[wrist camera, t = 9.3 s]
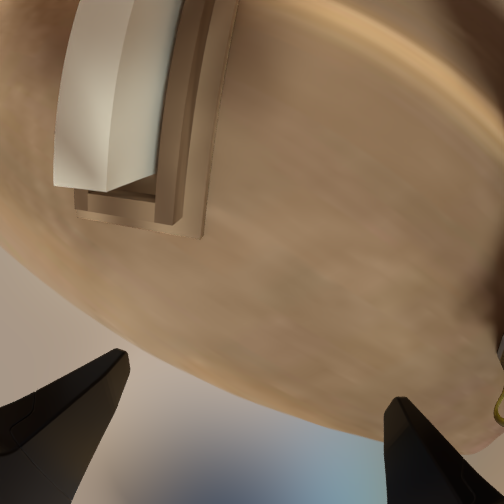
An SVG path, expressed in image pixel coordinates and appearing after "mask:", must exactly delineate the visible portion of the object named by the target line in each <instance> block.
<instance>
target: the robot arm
mask: <svg viewBox="0 0 504 504" xmlns="http://www.w3.org/2000/svg"><path fill="white" fill-rule="evenodd" d="M129 373H130V364H129V358H128V353H127V352H126V351H124V350H121V349H118V348H116V349H113V350H111V351H109V352H108V353H106V354H104V355H102V356H100V357H98V358H97V359H95V360H93V361H91V362H89V363H87V364H85V365H84V366H82V367H80V368H78V369H76V370H74V371H72V372H71V373H69V374H67V375H65V376H63V377H61V378H60V379H57V380H56V381H54V382H52V383H50V384H48V385H46V386H44V387H43V388H40V389H39V390H37V391H36V392H33V393H31V394H29V395H27V396H25V397H23V398H21V399H19V400H17V401H15V402H12V403H10V404H7V405H5V406H2V407H0V504H71V502H72V501H71V500H73V497H74V495H75V493H76V491H77V489H78V486H79V484H80V482H81V480H82V478H83V476H84V474H85V472H86V469H87V467H88V465H89V463H90V461H91V459H92V457H93V455H94V453H95V451H96V449H97V447H98V445H99V443H100V441H101V439H102V437H103V435H104V433H105V431H106V429H107V427H108V425H109V423H110V421H111V419H112V417H113V415H114V413H115V411H116V408H117V406H118V403H119V401H120V398H121V395H122V392H123V390H124V387H125V384H126V382H127V379H128V377H129ZM384 461H385V473H386V486H387V504H504V496H503V495H502V494H500V493H499V492H498V491H497V490H496V489H495V488H494V487H493V486H491V485H490V484H489V483H488V482H487V481H486V480H485V479H484V478H482V477H481V476H480V475H479V474H478V473H477V472H476V471H475V470H474V469H473V468H472V467H471V466H470V465H469V464H468V462H467V461H466V460H465V459H463V457H462V456H461V455H460V454H459V453H458V452H457V450H456V449H455V448H454V447H453V446H452V445H451V444H450V443H449V442H448V441H447V440H446V439H445V438H444V436H443V435H442V434H441V433H440V432H439V431H438V430H437V429H436V428H435V427H434V426H433V425H432V424H431V422H430V421H429V420H428V419H427V418H426V417H425V416H424V415H423V414H422V413H421V412H420V411H419V410H418V409H417V408H416V406H415V405H414V404H413V403H412V402H411V401H410V400H409V399H408V398H407V397H395V398H394V399H393V400H392V402H391V403H390V405H389V406H388V408H387V409H386V411H385V413H384Z"/></svg>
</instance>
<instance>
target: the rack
mask: <svg viewBox="0 0 504 504" xmlns="http://www.w3.org/2000/svg"><path fill="white" fill-rule="evenodd" d="M238 3H239V0H185V3H184V7H183V11H182V15H181V19H180V24H179V28H178V33H177V37H176V42H175V47H174V52H173V57H172V63H171V68H170V74H169V80H168V86H167V93H166V99H165V106H164V114H163V121H162V129H161V138H160V147H159V158H158V169H157V173H156V174H153V175H150V176H147V177H145V178H142V179H139V180H136V181H134V182H131V183H128V184H126V185H123V186H121V187H118V188H115V189H113V190H110V191H108V192H102V191H94V190H86V189H78V188H74V202H75V209H76V210H77V217H78V218H83V219H89V220H94V221H100V222H105V223H111V224H116V225H122V226H127V227H133V228H138V229H144V230H149V231H155V232H160V233H166V234H171V235H177V236H182V237H188V238H193V239H199V240H200V239H201V238H202V237H203V235H204V225H205V216H206V206H207V197H208V189H209V180H210V172H211V164H212V157H213V149H214V142H215V135H216V128H217V121H218V114H219V108H220V101H221V95H222V89H223V83H224V77H225V71H226V65H227V60H228V54H229V49H230V43H231V38H232V33H233V28H234V23H235V18H236V13H237V8H238Z"/></svg>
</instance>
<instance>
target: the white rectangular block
mask: <svg viewBox="0 0 504 504" xmlns="http://www.w3.org/2000/svg"><path fill="white" fill-rule="evenodd" d="M184 3H185V0H80V2H79V5H78V8H77V12H76V15H75V19H74V22H73V26H72V30H71V34H70V38H69V42H68V47H67V51H66V56H65V61H64V66H63V72H62V78H61V84H60V91H59V98H58V106H57V116H56V127H55V143H54V186H61V187H70V188H78V189H86V190H94V191H102V192H108V191H110V190H113V189H115V188H118V187H121V186H123V185H126V184H128V183H131V182H134V181H136V180H139V179H142V178H145V177H147V176H150V175H153V174H156V173H157V169H158V158H159V147H160V138H161V129H162V121H163V114H164V106H165V99H166V93H167V86H168V80H169V74H170V68H171V63H172V57H173V52H174V47H175V42H176V37H177V33H178V28H179V24H180V19H181V15H182V11H183V7H184Z"/></svg>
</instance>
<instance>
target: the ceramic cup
mask: <svg viewBox="0 0 504 504" xmlns="http://www.w3.org/2000/svg"><path fill="white" fill-rule="evenodd" d="M497 354H498V358H499V360H500V363H501V365H502V367H503V370H504V335H503V337H502V340H501V343H500V346H499V349H498V353H497ZM503 398H504V388H503V391H502V394H501V396H500V397H499V399H498V401H497V403H496V405H495V408H494V418H495V420H496V422H497V423H498V424H499V425H501V426H502V427H504V418H502V417H500V415H499V413H498V407H499V405H500V403H501V401H502V399H503Z"/></svg>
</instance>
